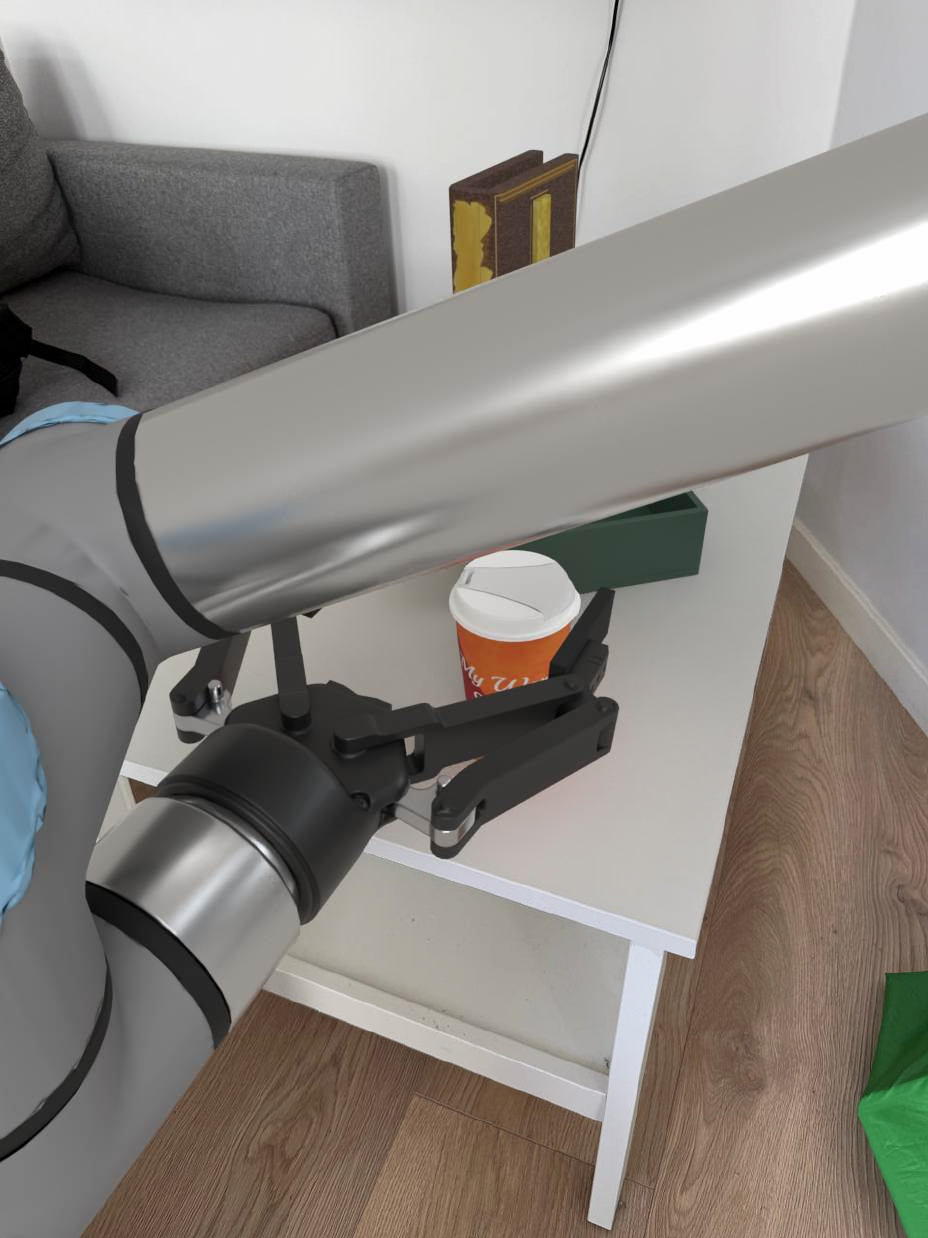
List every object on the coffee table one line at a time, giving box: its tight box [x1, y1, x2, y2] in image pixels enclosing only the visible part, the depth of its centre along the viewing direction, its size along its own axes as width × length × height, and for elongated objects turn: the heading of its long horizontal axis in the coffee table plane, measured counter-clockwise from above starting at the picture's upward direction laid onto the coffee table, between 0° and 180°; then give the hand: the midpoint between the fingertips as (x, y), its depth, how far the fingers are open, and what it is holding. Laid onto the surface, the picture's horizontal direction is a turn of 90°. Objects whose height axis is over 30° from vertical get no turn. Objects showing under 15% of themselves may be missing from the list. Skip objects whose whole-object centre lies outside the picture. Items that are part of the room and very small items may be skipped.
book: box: [448, 149, 580, 295], centre depth 107 cm, size 22×8×25 cm, turn 148°
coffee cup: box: [448, 550, 582, 761], centre depth 62 cm, size 8×8×15 cm
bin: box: [470, 490, 709, 595], centre depth 86 cm, size 19×19×7 cm
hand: (483, 569), depth 48 cm, fingers open, 13 cm apart
